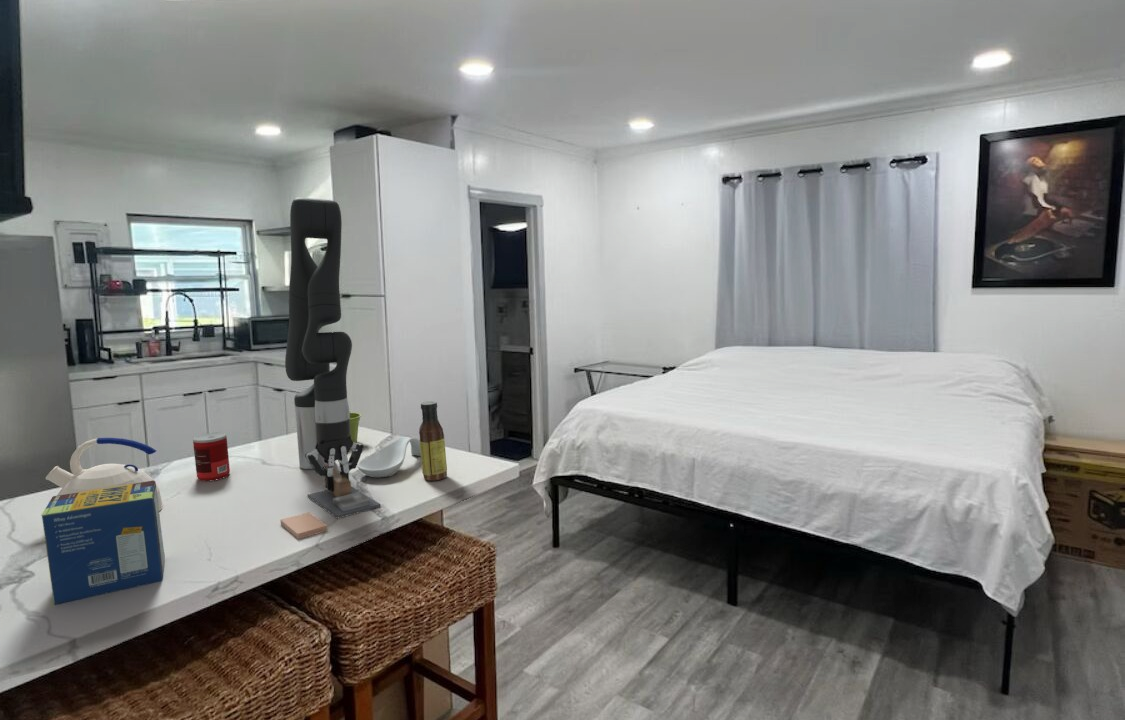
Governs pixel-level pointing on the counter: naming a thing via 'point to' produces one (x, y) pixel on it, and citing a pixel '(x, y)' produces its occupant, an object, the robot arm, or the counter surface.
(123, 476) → the kettle
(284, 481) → the counter surface
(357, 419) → the plant pot
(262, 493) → the counter surface
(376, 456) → the spoon rest
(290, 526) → the tile
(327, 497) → the mat
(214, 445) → the canned food
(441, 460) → the sauce bottle
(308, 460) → the robot arm
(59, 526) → the protein box
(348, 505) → the tall tan post
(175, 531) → the counter surface
